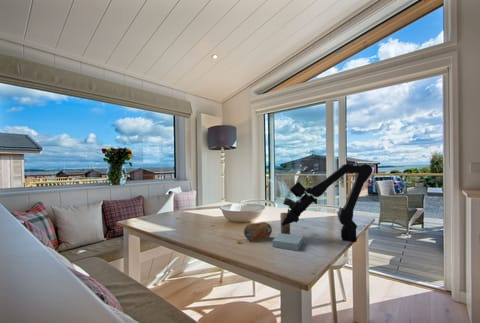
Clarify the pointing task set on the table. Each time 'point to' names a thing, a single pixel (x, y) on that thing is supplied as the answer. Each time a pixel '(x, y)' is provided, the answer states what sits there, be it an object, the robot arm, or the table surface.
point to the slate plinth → (288, 241)
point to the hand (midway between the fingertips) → (282, 223)
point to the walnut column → (284, 228)
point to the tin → (257, 231)
